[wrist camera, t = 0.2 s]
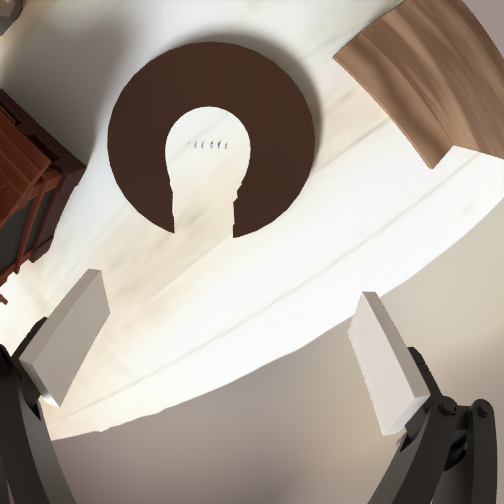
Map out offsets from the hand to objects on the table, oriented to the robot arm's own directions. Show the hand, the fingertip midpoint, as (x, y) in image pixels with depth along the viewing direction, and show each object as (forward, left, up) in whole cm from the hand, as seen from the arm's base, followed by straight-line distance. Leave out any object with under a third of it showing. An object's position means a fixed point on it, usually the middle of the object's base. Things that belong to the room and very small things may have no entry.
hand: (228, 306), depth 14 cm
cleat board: (-20, +23, -28) cm, 41 cm away
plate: (-5, -6, -28) cm, 29 cm away
